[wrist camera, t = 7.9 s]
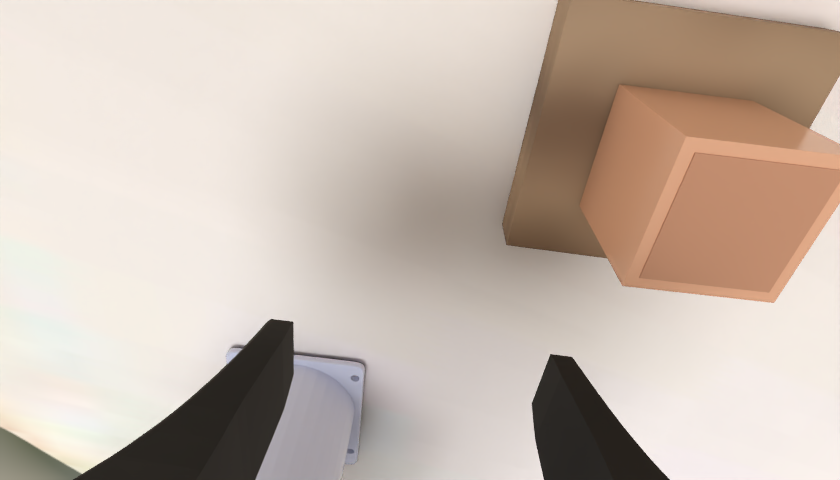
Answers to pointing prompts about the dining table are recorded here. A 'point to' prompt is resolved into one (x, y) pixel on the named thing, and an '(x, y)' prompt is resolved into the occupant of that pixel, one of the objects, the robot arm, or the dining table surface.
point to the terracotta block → (708, 193)
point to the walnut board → (652, 68)
